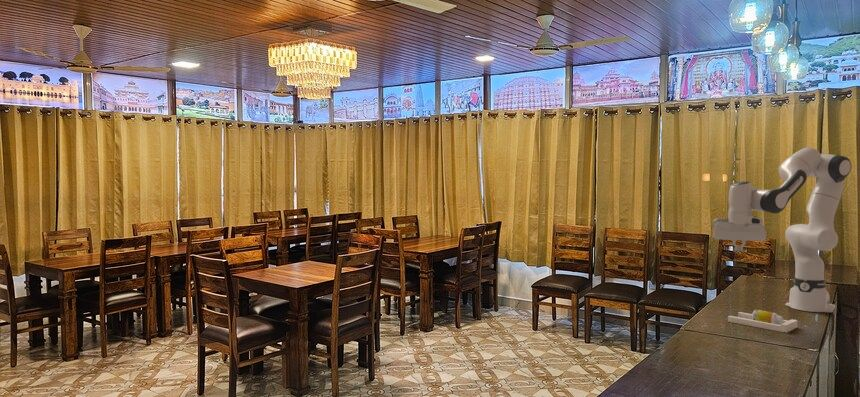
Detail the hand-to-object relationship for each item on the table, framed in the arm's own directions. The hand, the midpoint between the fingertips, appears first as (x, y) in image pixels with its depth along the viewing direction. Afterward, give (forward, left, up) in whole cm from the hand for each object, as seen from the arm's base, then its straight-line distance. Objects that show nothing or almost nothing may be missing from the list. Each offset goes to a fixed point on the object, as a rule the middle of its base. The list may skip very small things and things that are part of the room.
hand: (738, 250), depth 244 cm
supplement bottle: (+5, +9, -26) cm, 28 cm away
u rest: (+6, +11, -29) cm, 32 cm away
